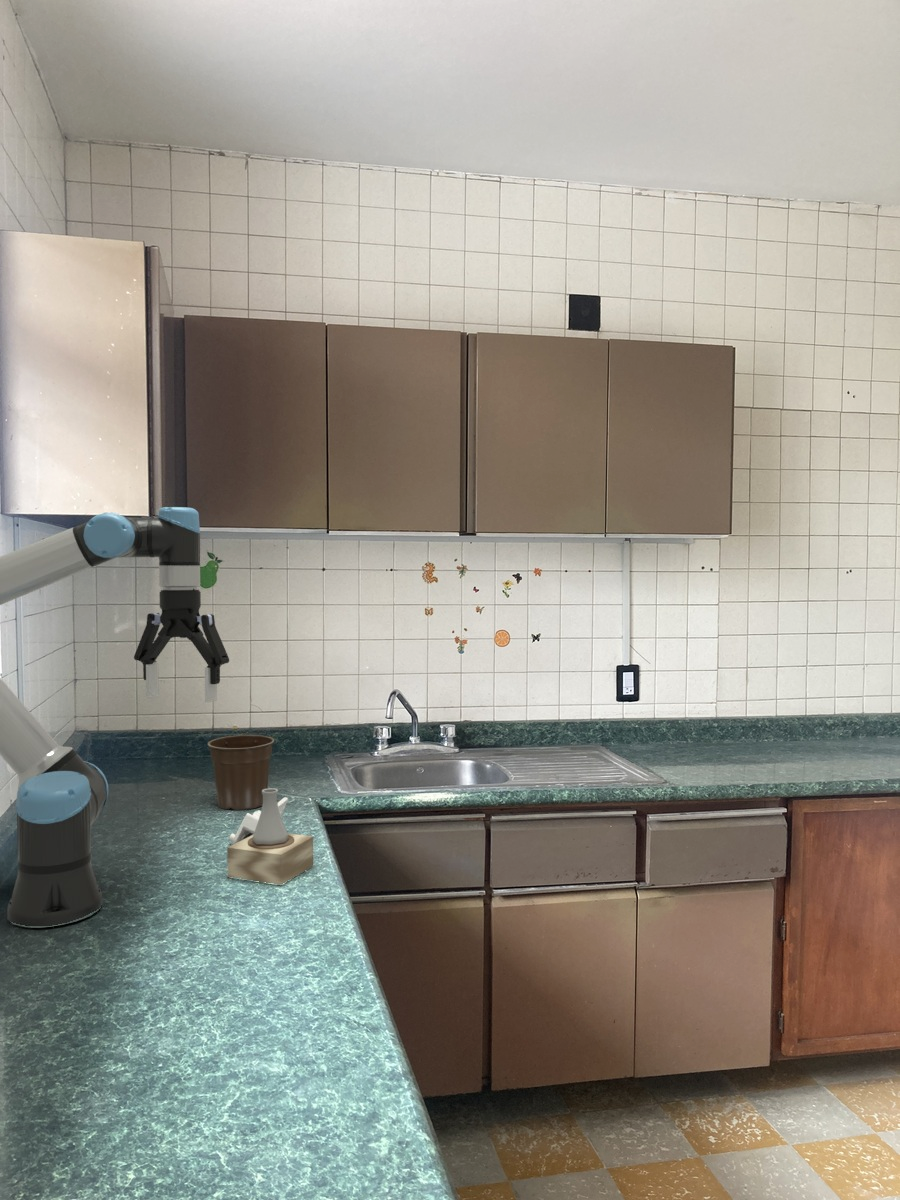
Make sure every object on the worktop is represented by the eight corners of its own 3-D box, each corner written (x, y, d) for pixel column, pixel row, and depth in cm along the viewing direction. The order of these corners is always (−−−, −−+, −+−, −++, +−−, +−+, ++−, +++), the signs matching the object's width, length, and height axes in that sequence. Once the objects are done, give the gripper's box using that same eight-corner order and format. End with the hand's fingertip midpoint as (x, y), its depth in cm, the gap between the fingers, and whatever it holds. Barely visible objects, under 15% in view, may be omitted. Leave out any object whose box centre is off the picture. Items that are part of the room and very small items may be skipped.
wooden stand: (227, 878, 173) (227, 845, 173) (262, 858, 184) (261, 828, 184) (281, 886, 169) (281, 853, 168) (313, 866, 180) (313, 835, 180)
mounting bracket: (251, 857, 191) (271, 812, 190) (225, 843, 192) (245, 799, 191) (270, 839, 203) (289, 797, 202) (246, 827, 204) (264, 785, 203)
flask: (252, 847, 172) (251, 796, 171) (251, 836, 179) (250, 786, 178) (290, 844, 173) (289, 793, 173) (287, 833, 180) (287, 784, 180)
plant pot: (225, 817, 214) (225, 750, 214) (197, 803, 227) (197, 740, 226) (286, 805, 225) (285, 741, 224) (256, 792, 237) (255, 732, 237)
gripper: (247, 588, 170) (248, 700, 171) (140, 587, 179) (142, 693, 180) (223, 589, 163) (224, 705, 164) (113, 588, 172) (115, 698, 173)
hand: (181, 699), depth 172 cm, fingers open, 13 cm apart
